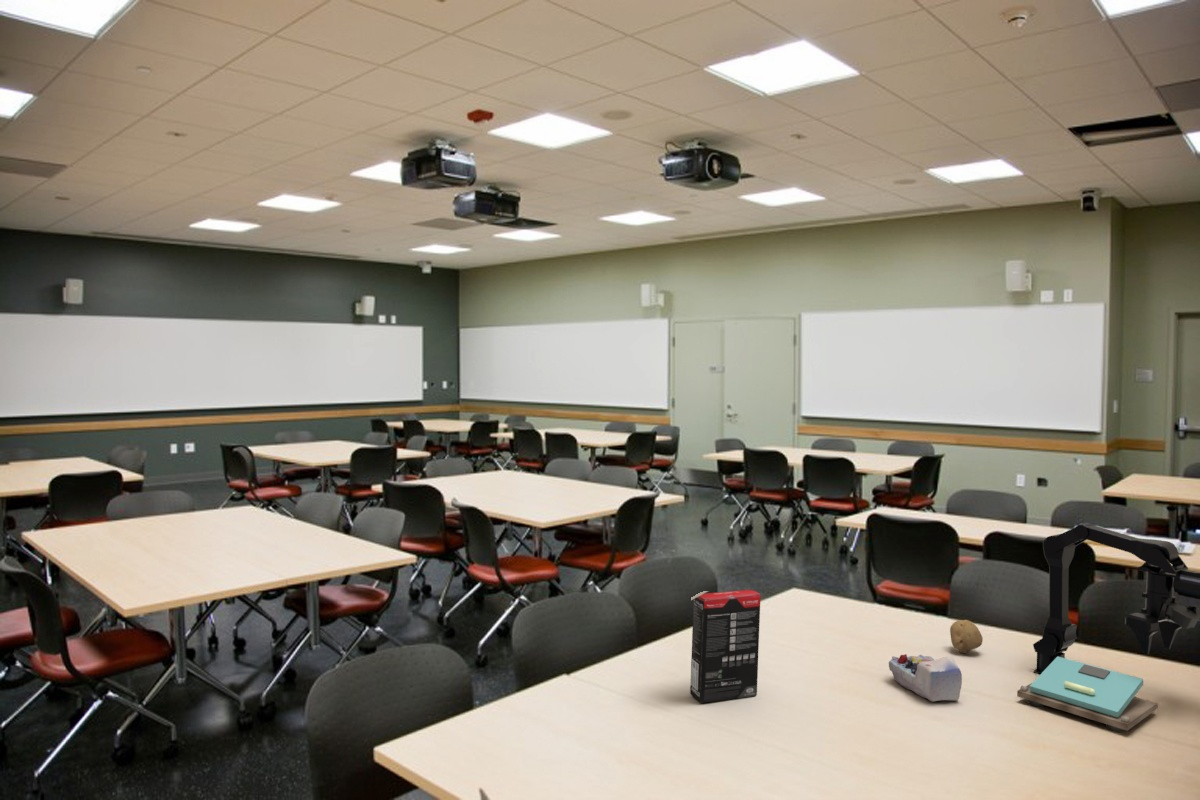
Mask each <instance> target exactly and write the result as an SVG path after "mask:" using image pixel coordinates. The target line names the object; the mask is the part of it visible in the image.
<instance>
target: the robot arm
mask: <svg viewBox="0 0 1200 800" xmlns="http://www.w3.org/2000/svg"><path fill="white" fill-rule="evenodd" d="M1086 541H1089V542H1094V543H1098V544H1100V545H1104V546H1106V547H1110V548H1114V549H1116V550H1121V551H1124V552H1126V553H1129V554H1132V555H1133V556H1135V557H1136V558H1138V559H1139V560H1141V561H1143V562H1144V563H1143V564H1141V565H1140V566H1138V567H1137V568H1136V569H1137V570H1138V571H1141V572H1146V585H1145V586H1146V587H1145V592H1142V593H1141V597H1142V598H1144V599H1145V601H1144V603H1145V605H1144V606H1145V607H1143V608H1141V609H1140V612H1134V613H1129V614H1128V615H1125V616H1124V625H1125V626H1128V628H1129V629H1130V630H1131V632H1132V634H1133V635H1134V636H1135V638H1136V640H1137V642H1138V645H1139V646H1140V649H1141V651H1142V653H1143V654H1145V655H1149V654H1150V650H1151V646H1152V640H1153V635H1155V634H1156V633H1158V632H1160V636H1161V641H1162V644H1163V647H1164V648H1165V649H1167V650H1170V649H1171V648H1172V645H1173V643H1174V640H1175V637H1176V635H1177V633H1178V632H1179V630H1180V629H1184V630H1188V629H1191V628H1195V626H1196V625H1197V622H1199V621H1200V607H1198V605H1197V606H1196V605H1195V604H1194V605H1190V606H1185V605H1181V604H1179V599H1178V597H1177V596H1175V595H1174V592H1175V593H1177V595H1178V596H1181V597H1183V598H1184V597H1185V598H1189V599H1195V600H1200V571H1196V570H1190V569H1189V568H1188V566H1187V564H1186V563H1185V562H1184V561H1183V559H1182V558H1181V556H1180V555H1179V550H1178V547H1176V545H1175V544H1174V543H1173V542H1170V541H1168V540H1167V541H1166V540H1159V539H1149V538H1138V537H1135V536H1131V535H1128V534H1125V533H1121V532H1117V531H1114V530H1112V529H1111V530H1110V529H1108V528H1104V527H1101V526H1098V525H1097V526H1096V525H1094V524H1093V523H1090V522H1089V523H1088V522H1086V523H1080V524H1077V525H1075V527H1073V528H1071V529H1068V530H1067V531H1064V532H1062V533H1058V534H1051V535H1049V536H1047V537H1045V538H1044V540H1043V541H1042V549H1043V555H1044V558H1045V560H1046V562H1047V564H1048V567H1049V573H1048V574H1049V575H1048V576H1049V577H1048V579H1049V581H1048V583H1049V585H1048V586H1049V587H1048V589H1049V590H1048V593H1049V597H1048V598H1049V599H1048V601H1049V602H1048V603H1049V604H1048V606H1049V607H1048V608H1049V609H1048V618H1047V620H1046V622H1045V625H1044V627H1043V632H1042V638H1041V639H1039V640H1038V641H1036V642H1035V643H1032V646H1033V650H1034V652H1035V653H1036V668H1035V669H1033V672H1034V673H1036V674H1039V675H1040V674H1041V673H1042V672H1043V671H1044V670H1045V669H1046V668H1047V667H1048V666H1049V665H1050V664H1051V663H1052V662H1053V661H1054V660H1055V658H1056V657H1057V656H1058V657H1062V658H1065V659H1066V654H1065V653H1064V652H1067V651H1068V649H1069V647H1071V646H1073V645H1074V644H1075V642H1076V640H1077V639H1078V636H1077V629H1078V628H1077V627H1078V624H1075V623H1072V622H1071V620H1070V618H1069V573H1070V571H1069V569H1070V568H1069V567H1070V565H1071V563H1072V560H1073V559H1074V556H1075V550H1076V547H1077V546H1078V545H1081V544H1082V543H1084V542H1086ZM1158 628H1159V630H1158Z"/></svg>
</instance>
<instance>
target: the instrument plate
mask: <svg viewBox="0 0 1200 800" xmlns="http://www.w3.org/2000/svg"><path fill="white" fill-rule="evenodd" d="M1031 683H1032V684H1031ZM1031 683H1030V684H1031V685H1030V691H1031V692H1034V693H1038V694H1041V695H1044V696H1048V697H1051V698H1054V699H1058V700H1061V701H1064V702H1067V703H1071V704H1074V705H1077V706H1081V707H1084V708H1087V709H1091V710H1094V711H1097V712H1101V713H1104V714H1107V715H1111V716H1114V717H1117V718H1118V717H1119V716H1120V715H1121V713H1122V712H1123V711H1124V709H1125V708H1126V707H1127V705H1128V704H1129V703H1130V701H1131V700H1132V699H1133V697H1136V695H1137V694H1138V693H1139V691H1140V690H1141V688H1142V687H1143V686H1144V679H1143V678H1140V677H1137V676H1134V675H1130V674H1126V673H1122V672H1118V671H1115V670H1111V669H1107V668H1103V667H1100V666H1094V665H1092V664H1089V663H1084V662H1081V661H1076V660H1073V659H1070V658H1069V659H1068V658H1066V657H1065V658H1062V657H1058V656H1057V657H1056V658H1055V660H1054V661H1053V662H1052V663H1051V664H1050V665H1049V666H1048V667H1047V668H1046V669H1045V670H1044V671H1043V672H1042V673H1041V674H1040V673H1039V675H1038V677H1037V678H1036V679H1035V680H1034V681H1032V682H1031Z"/></svg>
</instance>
